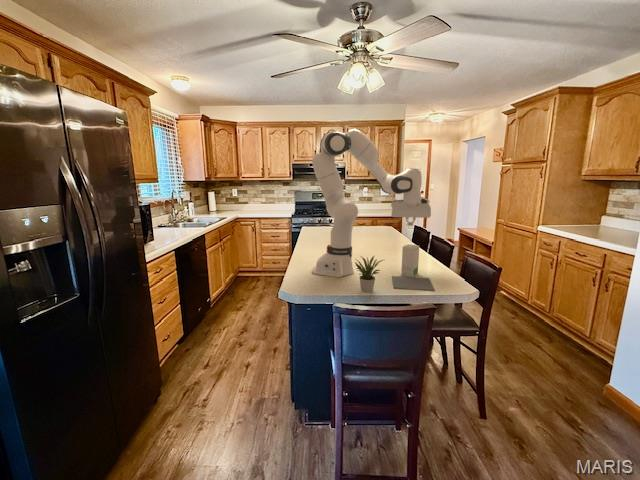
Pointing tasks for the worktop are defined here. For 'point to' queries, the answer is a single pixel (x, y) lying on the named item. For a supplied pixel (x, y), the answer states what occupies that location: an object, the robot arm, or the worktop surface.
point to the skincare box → (410, 260)
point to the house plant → (367, 275)
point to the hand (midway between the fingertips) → (410, 225)
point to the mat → (412, 283)
